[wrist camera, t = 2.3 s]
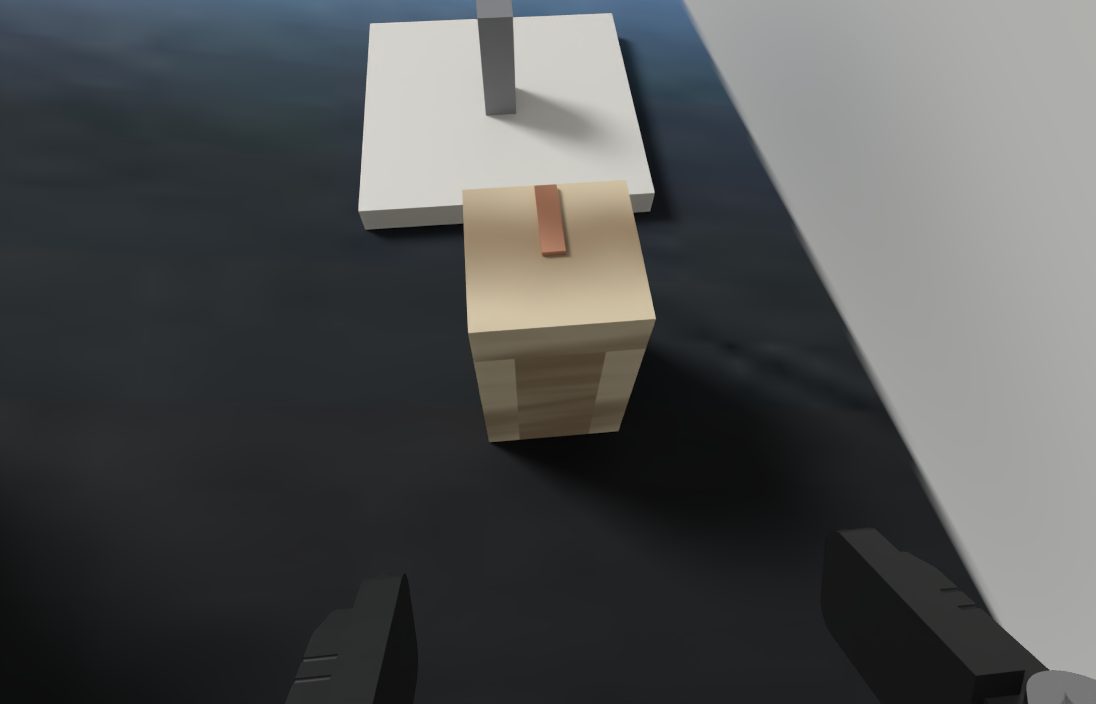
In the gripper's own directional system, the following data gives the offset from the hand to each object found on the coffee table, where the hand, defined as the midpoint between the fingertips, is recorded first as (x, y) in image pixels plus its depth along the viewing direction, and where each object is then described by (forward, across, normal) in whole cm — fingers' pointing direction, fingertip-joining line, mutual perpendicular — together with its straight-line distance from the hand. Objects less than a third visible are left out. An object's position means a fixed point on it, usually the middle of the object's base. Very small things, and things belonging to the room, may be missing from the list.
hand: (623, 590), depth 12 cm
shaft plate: (+31, -1, +11) cm, 33 cm away
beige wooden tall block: (+18, 0, -2) cm, 18 cm away
